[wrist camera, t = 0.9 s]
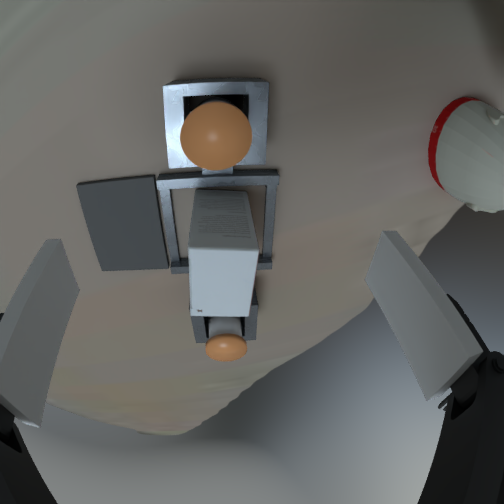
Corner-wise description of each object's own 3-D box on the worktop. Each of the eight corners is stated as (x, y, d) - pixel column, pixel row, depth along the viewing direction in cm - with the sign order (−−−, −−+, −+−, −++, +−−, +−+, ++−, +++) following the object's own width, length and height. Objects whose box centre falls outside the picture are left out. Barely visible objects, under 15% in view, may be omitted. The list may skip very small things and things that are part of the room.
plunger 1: (245, 92, 22) (253, 102, 17) (244, 145, 25) (251, 169, 20) (186, 94, 21) (178, 105, 17) (189, 147, 24) (182, 172, 20)
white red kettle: (483, 192, 34) (546, 252, 22) (419, 192, 33) (491, 268, 21) (501, 106, 25) (581, 152, 13) (435, 88, 24) (537, 132, 13)
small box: (240, 250, 36) (250, 318, 27) (193, 249, 35) (189, 318, 26) (248, 189, 31) (261, 250, 23) (194, 187, 30) (187, 248, 22)
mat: (154, 174, 28) (153, 177, 28) (169, 265, 36) (168, 268, 35) (78, 183, 28) (76, 185, 27) (103, 268, 35) (102, 270, 34)
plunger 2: (242, 300, 36) (247, 337, 32) (242, 324, 39) (246, 360, 35) (203, 301, 36) (203, 340, 31) (207, 325, 39) (207, 362, 34)
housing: (281, 78, 24) (294, 83, 20) (265, 311, 43) (270, 338, 39) (151, 83, 23) (137, 89, 19) (183, 315, 42) (181, 343, 38)
